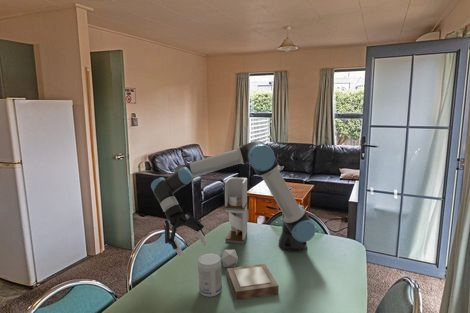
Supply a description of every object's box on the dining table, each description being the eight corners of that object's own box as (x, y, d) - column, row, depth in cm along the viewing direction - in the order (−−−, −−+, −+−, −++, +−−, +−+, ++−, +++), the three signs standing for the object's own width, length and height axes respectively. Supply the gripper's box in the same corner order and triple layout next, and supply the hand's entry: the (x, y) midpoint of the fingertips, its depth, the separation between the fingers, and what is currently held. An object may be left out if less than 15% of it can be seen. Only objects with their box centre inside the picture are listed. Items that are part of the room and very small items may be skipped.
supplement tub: (216, 282, 138) (216, 251, 135) (225, 293, 129) (225, 261, 127) (195, 287, 133) (194, 256, 131) (203, 300, 125) (202, 266, 122)
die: (232, 273, 145) (242, 255, 147) (216, 263, 146) (227, 245, 148) (232, 270, 153) (242, 253, 155) (217, 261, 154) (227, 244, 156)
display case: (229, 233, 188) (229, 177, 182) (247, 235, 186) (247, 178, 179) (225, 241, 177) (224, 182, 171) (244, 243, 175) (243, 183, 168)
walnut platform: (265, 271, 146) (265, 263, 145) (278, 294, 128) (278, 285, 128) (227, 276, 142) (227, 267, 141) (235, 300, 125) (235, 291, 124)
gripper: (189, 206, 153) (210, 243, 146) (144, 220, 135) (166, 264, 128) (196, 197, 149) (218, 236, 142) (150, 211, 131) (173, 256, 124)
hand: (193, 249), depth 135 cm, fingers open, 13 cm apart
